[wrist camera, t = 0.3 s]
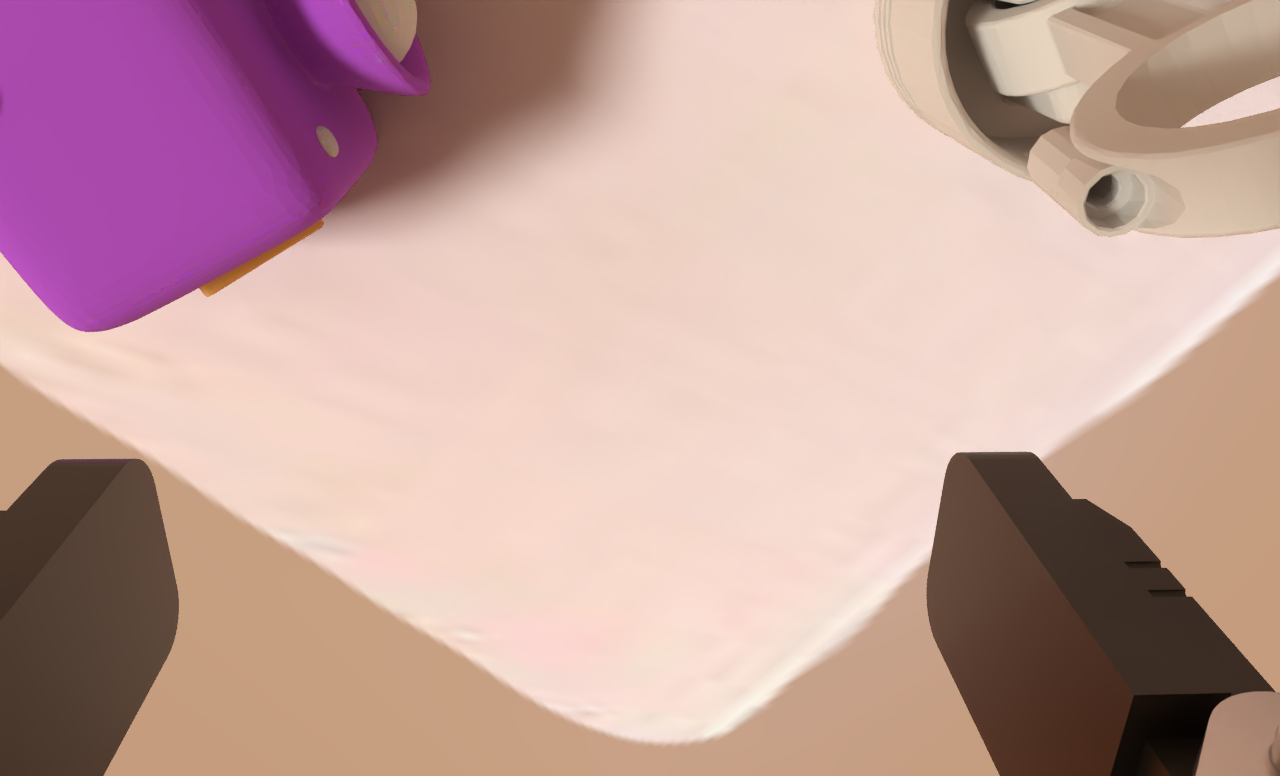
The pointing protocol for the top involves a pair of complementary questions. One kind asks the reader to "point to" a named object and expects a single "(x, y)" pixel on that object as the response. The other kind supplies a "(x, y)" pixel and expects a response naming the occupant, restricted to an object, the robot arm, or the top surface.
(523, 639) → the top surface
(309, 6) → the toy camera
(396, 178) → the top surface
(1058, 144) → the engine component
